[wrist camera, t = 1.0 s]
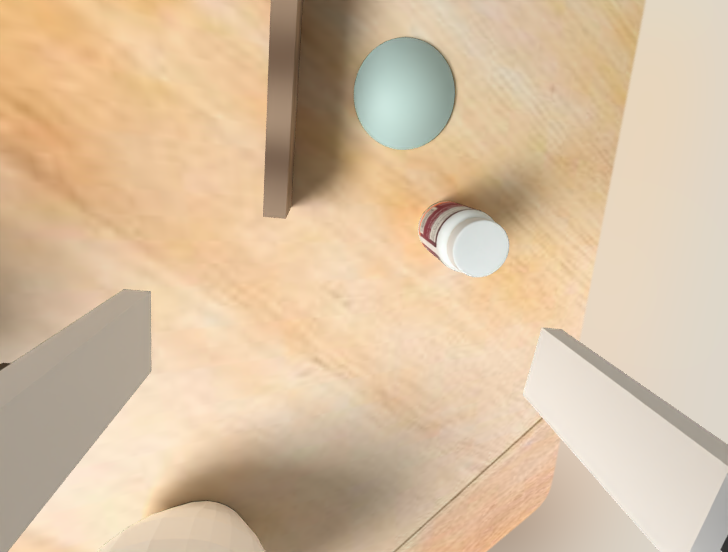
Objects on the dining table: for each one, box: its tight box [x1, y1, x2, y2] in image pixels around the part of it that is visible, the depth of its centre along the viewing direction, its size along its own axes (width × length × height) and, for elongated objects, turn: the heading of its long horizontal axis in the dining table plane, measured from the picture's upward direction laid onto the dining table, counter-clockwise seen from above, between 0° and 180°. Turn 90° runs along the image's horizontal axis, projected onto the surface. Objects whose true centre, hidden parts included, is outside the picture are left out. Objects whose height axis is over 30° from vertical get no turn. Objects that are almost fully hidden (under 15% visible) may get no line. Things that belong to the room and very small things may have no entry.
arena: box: [263, 0, 303, 219], centre depth 27 cm, size 21×18×6 cm
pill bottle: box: [418, 201, 509, 277], centre depth 30 cm, size 5×5×8 cm
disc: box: [354, 37, 455, 150], centre depth 30 cm, size 8×8×1 cm
